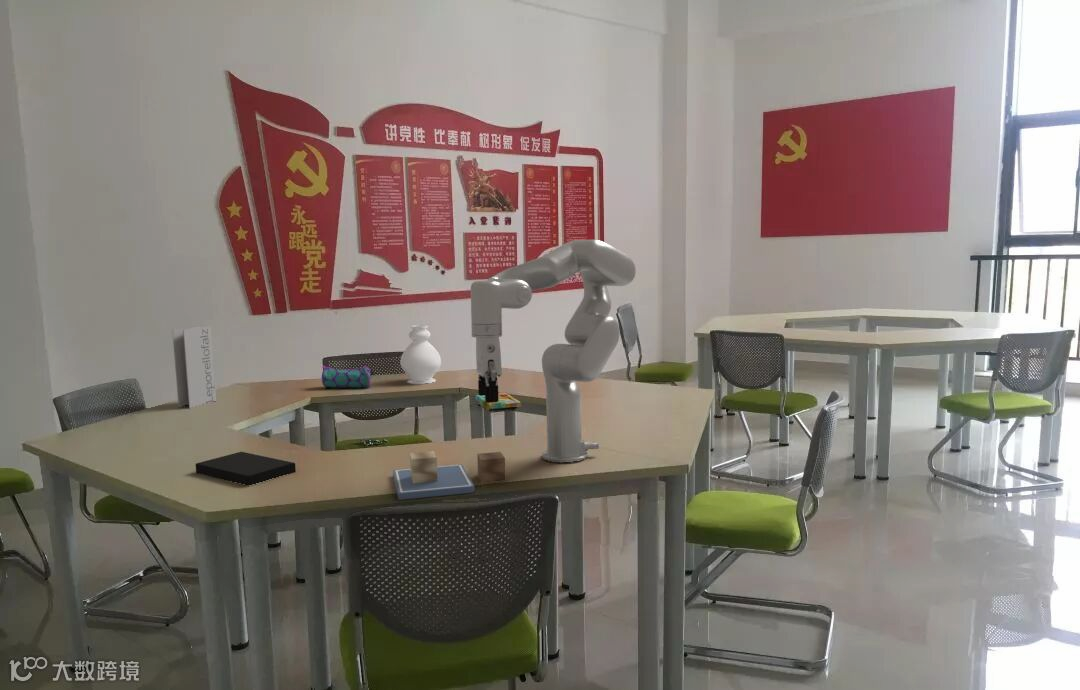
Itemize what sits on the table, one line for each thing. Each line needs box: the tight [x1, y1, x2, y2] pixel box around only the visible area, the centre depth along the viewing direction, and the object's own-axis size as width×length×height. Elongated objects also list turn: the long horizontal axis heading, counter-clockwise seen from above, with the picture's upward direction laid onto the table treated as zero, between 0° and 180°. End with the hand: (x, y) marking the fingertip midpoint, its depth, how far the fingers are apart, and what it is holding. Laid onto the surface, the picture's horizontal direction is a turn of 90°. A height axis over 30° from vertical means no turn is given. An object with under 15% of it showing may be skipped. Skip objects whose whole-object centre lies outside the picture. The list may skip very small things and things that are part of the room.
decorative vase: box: [399, 324, 442, 385], centre depth 341 cm, size 18×18×25 cm
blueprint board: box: [392, 463, 475, 501], centre depth 192 cm, size 18×20×2 cm
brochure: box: [171, 325, 217, 409], centre depth 300 cm, size 14×6×30 cm, turn 161°
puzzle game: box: [475, 392, 522, 414], centre depth 282 cm, size 12×5×20 cm
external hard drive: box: [195, 451, 297, 486], centre depth 206 cm, size 14×23×3 cm, turn 56°
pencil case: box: [321, 365, 374, 389], centre depth 331 cm, size 21×9×10 cm, turn 89°
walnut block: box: [477, 451, 507, 484], centre depth 196 cm, size 6×6×6 cm
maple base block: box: [409, 450, 438, 483], centre depth 191 cm, size 6×6×6 cm
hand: (488, 398), depth 193 cm, fingers open, 9 cm apart
